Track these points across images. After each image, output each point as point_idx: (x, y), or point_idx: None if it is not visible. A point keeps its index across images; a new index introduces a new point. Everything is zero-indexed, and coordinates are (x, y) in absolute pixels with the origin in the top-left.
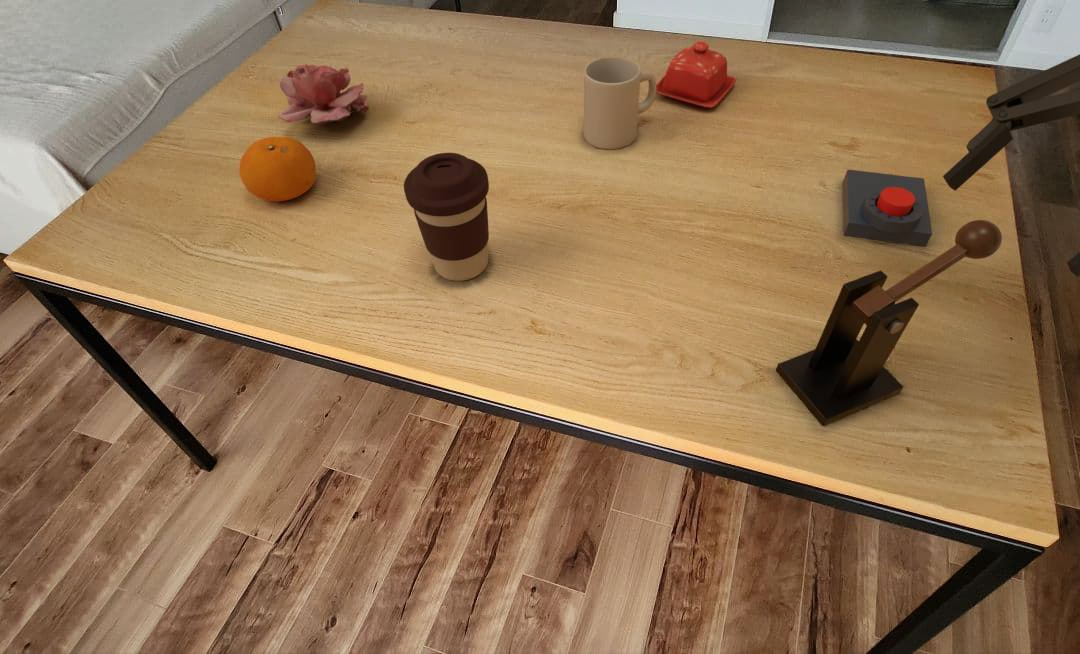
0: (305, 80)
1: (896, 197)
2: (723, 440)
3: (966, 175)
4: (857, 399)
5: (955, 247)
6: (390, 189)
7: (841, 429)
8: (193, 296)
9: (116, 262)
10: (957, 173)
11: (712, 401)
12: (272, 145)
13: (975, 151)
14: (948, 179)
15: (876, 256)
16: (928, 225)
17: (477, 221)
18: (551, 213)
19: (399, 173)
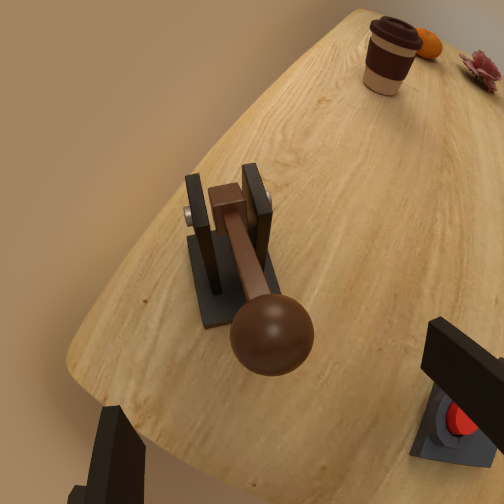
0: (478, 51)
1: None
2: (198, 169)
3: (442, 371)
4: (200, 273)
5: (266, 291)
6: (434, 80)
7: (180, 255)
8: (343, 25)
9: (361, 17)
10: (441, 334)
11: (236, 172)
12: (429, 33)
13: (484, 357)
14: (430, 321)
15: (404, 395)
16: (431, 456)
17: (381, 51)
18: (437, 136)
19: (449, 87)
